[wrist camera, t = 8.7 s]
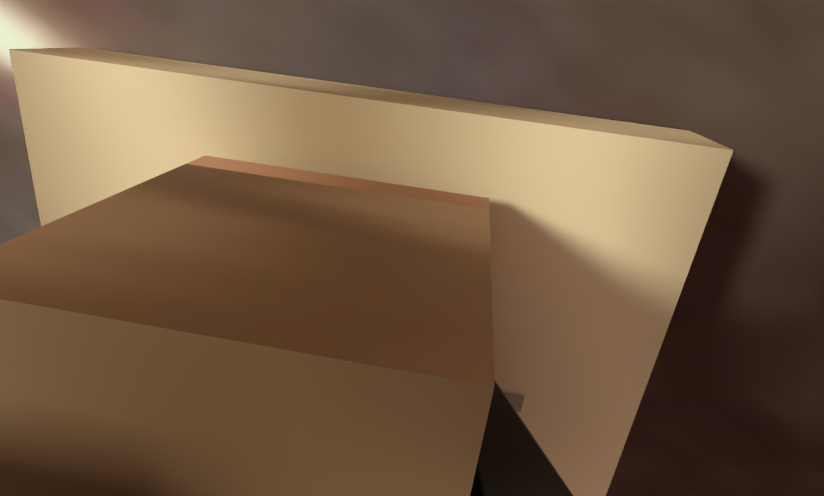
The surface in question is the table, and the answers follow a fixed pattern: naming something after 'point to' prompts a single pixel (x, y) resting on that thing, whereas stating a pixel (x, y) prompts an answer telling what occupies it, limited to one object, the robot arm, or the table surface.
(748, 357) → the table surface
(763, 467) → the table surface
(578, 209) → the birch board
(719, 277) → the table surface
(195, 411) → the block
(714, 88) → the table surface
